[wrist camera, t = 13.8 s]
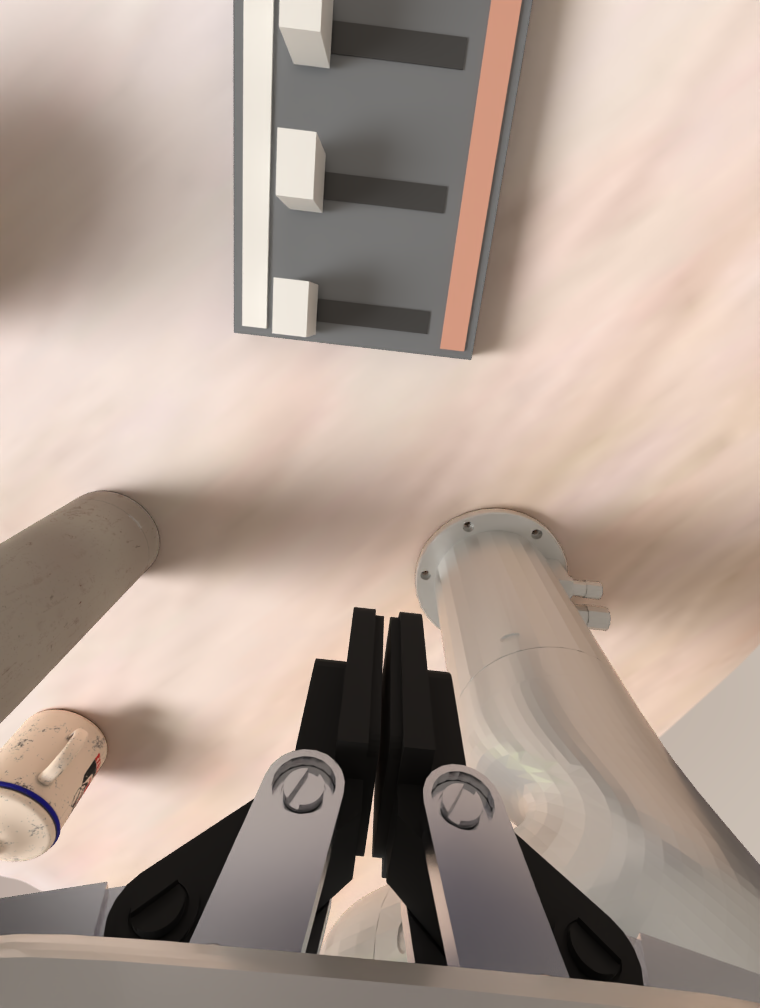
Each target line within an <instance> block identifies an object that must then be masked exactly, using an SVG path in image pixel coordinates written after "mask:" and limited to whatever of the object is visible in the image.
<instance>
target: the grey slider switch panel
mask: <svg viewBox="0 0 760 1008" xmlns="http://www.w3.org/2000/svg"><path fill="white" fill-rule="evenodd" d="M532 1H533V0H334V1H333V19H332V37H331V55H330V68H322V67H314V66H306V65H298V64H294V63H293V61H292V58H291V56H290V53H289V51H288V48H287V46H286V43H285V41H284V38H283V36H282V33H281V31H280V28H279V2H280V0H233V15H234V333H242V334H251V335H259V336H268V337H277V338H285V339H294V340H303V341H311V342H320V343H329V344H337V345H346V346H355V347H363V348H372V349H381V350H389V351H398V352H407V353H415V354H424V355H433V356H442V357H450V358H459V359H468V360H471V358H472V352H473V346H474V341H475V335H476V329H477V323H478V317H479V311H480V306H481V300H482V294H483V288H484V282H485V276H486V270H487V265H488V259H489V253H490V247H491V241H492V235H493V229H494V224H495V218H496V212H497V206H498V200H499V194H500V188H501V183H502V177H503V171H504V165H505V159H506V153H507V148H508V142H509V136H510V130H511V124H512V118H513V112H514V107H515V101H516V95H517V89H518V83H519V77H520V71H521V66H522V60H523V54H524V48H525V42H526V36H527V30H528V25H529V19H530V13H531V7H532Z"/></svg>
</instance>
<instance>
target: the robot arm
mask: <svg viewBox="0 0 760 1008" xmlns="http://www.w3.org/2000/svg"><path fill="white" fill-rule="evenodd" d="M466 522H470V523H469V524H468V525H465V523H466ZM534 530H536V531H535V532H533V531H534ZM423 571H427V572H423ZM415 586H416V593H417V597H418V600H419V603H420V606H421V608H422V610H423V611H424V613H425V614H426V616H427V618H428V619H429V620H430V621H431V622H432V623H433V624H434V625H435V626H436V627H437V628H439V629H440V630H441V636H442V642H443V649H444V655H445V662H446V668H447V672H441V671H431V670H427V660H426V650H425V639H424V629H423V619H422V614H414V613H405V612H400V613H399V617H398V618H395V617H390V623H389V630H388V637H387V644H386V652H385V659H384V666H383V673H382V665H383V629H384V616H377V615H376V609H367V608H358V607H354V611H353V619H352V626H351V634H350V642H349V650H348V657H347V662H345V661H335V660H325V659H316V660H315V663H314V668H313V672H312V677H311V681H310V686H309V690H308V695H307V699H306V704H305V708H304V713H303V717H302V722H301V726H300V731H299V736H298V740H297V745H296V749H295V751H292V752H290V753H287V754H285V755H283V756H281V757H280V758H279V759H277V760H276V761H275V762H274V763H273V764H272V765H271V766H270V768H269V769H268V771H267V772H266V774H265V776H264V778H263V781H262V783H261V785H260V787H259V790H258V792H257V794H256V796H255V798H254V799H253V800H251V801H250V802H248V803H247V804H245V805H244V806H242V807H241V808H239V809H238V810H236V811H235V812H233V813H232V814H230V815H229V816H227V817H226V818H224V819H222V820H221V821H219V822H218V823H216V824H215V825H213V826H212V827H210V828H209V829H207V830H206V831H204V832H203V833H201V834H200V835H198V836H197V837H195V838H194V839H192V840H191V841H189V842H187V843H186V844H184V845H183V846H181V847H180V848H178V849H177V850H175V851H174V852H172V853H171V854H169V855H168V856H166V857H165V858H163V859H162V860H160V861H159V862H157V863H156V864H154V865H152V866H151V867H149V868H148V869H146V870H145V871H143V872H142V873H141V874H139V875H138V876H137V877H136V878H134V879H133V880H132V881H131V882H130V883H128V884H127V885H126V886H122V887H115V888H109V889H108V883H107V882H103V883H97V884H90V885H83V886H77V887H70V888H64V889H57V890H51V891H44V892H38V893H31V894H25V895H18V896H12V897H5V898H0V1008H760V864H759V863H758V862H757V861H756V860H755V858H754V857H753V856H752V855H751V854H750V853H749V851H747V849H746V848H745V847H744V846H743V844H742V843H741V842H740V841H739V840H738V839H737V837H736V836H735V835H734V834H733V833H732V831H731V830H730V829H729V828H728V827H727V826H726V824H725V823H724V822H723V821H722V820H721V819H720V817H719V816H718V815H717V814H716V813H715V811H714V810H713V809H712V808H711V807H710V805H709V804H708V803H707V802H706V801H705V799H704V798H703V797H702V796H701V795H700V793H699V792H698V791H697V790H696V788H695V787H694V786H693V784H692V783H691V782H690V781H689V779H688V778H687V777H686V776H685V774H684V773H683V772H682V770H681V769H680V768H679V767H678V765H677V764H676V763H675V761H674V760H673V759H672V757H671V756H670V755H669V753H668V752H667V750H666V749H665V747H664V746H663V744H662V743H661V741H660V740H659V738H658V737H657V735H656V734H655V732H654V731H653V729H652V728H651V726H650V725H649V723H648V722H647V720H646V719H645V717H644V716H643V714H642V713H641V712H640V710H639V708H638V707H637V705H636V704H635V702H634V700H633V699H632V697H631V696H630V694H629V693H628V691H627V689H626V688H625V686H624V684H623V683H622V681H621V680H620V678H619V676H618V675H617V673H616V672H615V670H614V668H613V667H612V665H611V664H610V662H609V660H608V659H607V657H606V656H605V654H604V652H603V651H602V649H601V647H600V646H599V644H598V643H597V641H596V639H595V638H594V636H593V635H592V633H591V631H590V630H589V629H593V630H603V631H606V630H607V629H608V628H609V626H610V621H611V617H610V612H609V610H608V608H606V607H603V606H594V605H574V604H573V602H572V601H571V599H570V598H571V597H572V596H579V597H583V598H590V599H600V598H601V597H602V593H603V587H602V584H601V583H600V582H595V581H586V580H583V581H578V580H573V578H572V577H571V576H569V575H568V570H567V561H566V558H565V555H564V552H563V549H562V548H561V546H560V545H559V543H558V541H557V540H556V538H555V537H554V536H553V534H552V533H551V532H550V531H549V530H548V529H547V528H546V527H545V526H544V525H543V524H541V523H540V522H539V521H538V520H536V519H534V518H532V517H530V516H528V515H526V514H524V513H520V512H517V511H514V510H508V509H499V508H493V509H481V510H477V511H472V512H468V513H465V514H463V515H461V516H459V517H456V518H454V519H452V520H451V521H449V522H448V523H446V524H445V525H443V526H442V527H441V528H439V529H438V530H437V531H436V532H435V533H434V534H433V535H432V536H431V537H430V539H429V540H428V542H427V543H426V544H425V546H424V547H423V549H422V552H421V554H420V556H419V558H418V561H417V566H416V571H415ZM374 784H375V791H374ZM373 791H374V818H373V845H372V857H377V858H382V878H386V882H387V885H385V886H383V887H381V888H379V889H377V890H375V891H373V892H371V893H369V894H367V895H366V896H364V897H363V898H361V899H360V900H358V901H357V902H356V903H354V904H353V905H352V906H351V907H350V908H348V909H347V910H346V911H345V912H344V913H343V914H342V915H341V917H340V918H339V919H338V920H337V922H336V923H335V924H334V926H333V927H332V928H331V930H330V932H329V933H328V935H327V937H326V939H325V941H324V943H323V945H322V941H323V937H324V933H325V929H326V925H327V920H328V916H329V912H330V908H331V899H332V897H333V896H334V895H336V894H337V893H338V892H339V891H340V890H341V889H342V888H343V887H344V886H345V885H346V884H347V883H349V882H350V881H351V880H352V878H353V871H354V864H355V856H364V853H365V846H366V839H367V832H368V825H369V818H370V812H371V805H372V798H373ZM510 821H511V822H513V823H514V824H515V825H516V826H517V827H516V828H515V829H513V827H512V824H511V822H510ZM321 945H322V947H321Z"/></svg>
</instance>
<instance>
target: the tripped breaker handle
mask: <svg viewBox="0 0 760 1008" xmlns="http://www.w3.org/2000/svg"><path fill="white" fill-rule="evenodd" d="M333 1H334V0H280V2H279V28H280V31H281V33H282V36H283V38H284V41H285V43H286V46H287V48H288V51H289V53H290V56H291V58H292V61H293V63H294V64H298V65H306V66H314V67H322V68H330V55H331V37H332V19H333Z"/></svg>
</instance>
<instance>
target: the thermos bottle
mask: <svg viewBox="0 0 760 1008" xmlns="http://www.w3.org/2000/svg"><path fill="white" fill-rule="evenodd" d="M159 542H160V539H159V534H158V530H157V527H156V525H155V523H154V521H153V519H152V518H151V516H150V515H149V514H148V512H147V511H146V510H145V509H144V508H143V507H142V506H140V505H139V504H138V503H137V502H135V501H134V500H132V499H130V498H128V497H126V496H124V495H121V494H118V493H114V492H109V491H95V492H91V493H87V494H85V495H83V496H80V497H78V498H77V499H75V500H73V501H72V502H70V503H68V504H67V505H65V506H63V507H61V508H60V509H58V510H56V511H55V512H53V513H51V514H50V515H48V516H46V517H45V518H43V519H41V520H40V521H38V522H36V523H35V524H33V525H31V526H29V527H28V528H26V529H24V530H23V531H21V532H19V533H18V534H16V535H14V536H13V537H11V538H9V539H7V540H6V541H4V542H2V543H1V544H0V723H1V722H2V721H3V720H4V719H5V718H6V717H7V716H8V715H9V714H10V713H11V712H12V711H13V710H14V709H15V708H16V707H17V706H18V705H19V704H20V703H21V702H22V701H23V700H24V698H25V697H26V696H27V695H28V694H29V693H30V692H31V691H32V690H33V689H34V688H35V687H36V686H37V685H38V684H39V683H40V682H41V681H42V680H43V678H44V677H45V676H46V675H47V674H48V673H49V672H50V671H51V670H52V669H53V668H54V667H55V666H56V665H57V664H58V663H59V662H60V661H61V660H62V659H63V657H64V656H65V655H66V654H67V653H68V652H69V651H70V650H71V649H72V648H73V647H74V646H75V645H76V644H77V643H78V642H79V641H80V640H81V639H82V637H83V636H84V635H85V634H86V633H87V632H88V631H89V630H90V629H91V628H92V627H93V626H94V625H95V624H96V623H97V622H98V621H99V620H100V619H101V618H102V616H103V615H104V614H105V613H106V612H107V611H108V610H109V609H110V608H111V607H112V606H113V605H114V604H115V603H116V602H117V601H118V600H119V599H120V598H121V596H122V595H123V594H124V593H125V592H126V591H127V590H128V589H129V588H130V587H131V586H132V585H133V584H134V583H135V582H136V581H137V580H138V579H139V578H140V576H141V575H142V574H143V573H144V572H145V571H146V570H147V569H148V568H149V567H150V566H151V565H152V564H153V562H154V561H155V559H156V557H157V555H158V551H159Z"/></svg>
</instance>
